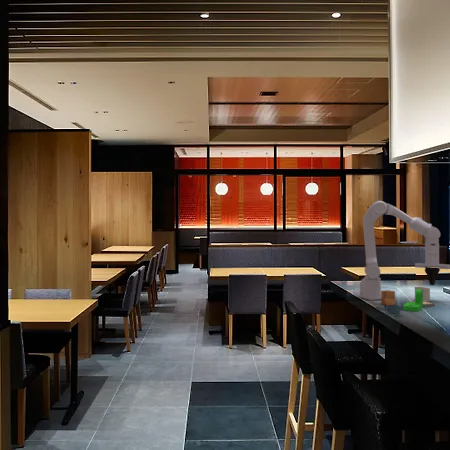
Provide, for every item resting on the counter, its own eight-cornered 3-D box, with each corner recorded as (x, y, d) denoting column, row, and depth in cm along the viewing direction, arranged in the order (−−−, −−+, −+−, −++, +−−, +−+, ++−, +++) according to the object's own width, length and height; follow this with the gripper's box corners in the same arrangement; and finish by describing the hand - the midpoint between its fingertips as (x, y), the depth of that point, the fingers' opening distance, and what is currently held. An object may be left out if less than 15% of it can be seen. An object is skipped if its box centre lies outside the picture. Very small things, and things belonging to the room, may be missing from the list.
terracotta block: (381, 304, 217) (381, 290, 217) (389, 304, 219) (389, 290, 219) (387, 306, 213) (386, 291, 213) (395, 305, 215) (394, 291, 215)
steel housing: (413, 301, 226) (413, 286, 226) (420, 300, 227) (420, 286, 227) (424, 303, 219) (424, 288, 219) (431, 303, 220) (431, 288, 220)
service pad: (411, 304, 217) (411, 301, 217) (422, 303, 219) (422, 301, 219) (423, 306, 210) (423, 304, 210) (434, 306, 212) (434, 303, 212)
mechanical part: (407, 306, 213) (407, 287, 213) (422, 307, 210) (422, 288, 210) (402, 310, 203) (402, 290, 203) (418, 312, 200) (417, 291, 200)
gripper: (412, 253, 226) (412, 284, 227) (445, 255, 217) (446, 286, 217) (418, 253, 232) (418, 282, 232) (451, 254, 222) (451, 285, 222)
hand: (432, 284), depth 225 cm, fingers closed
